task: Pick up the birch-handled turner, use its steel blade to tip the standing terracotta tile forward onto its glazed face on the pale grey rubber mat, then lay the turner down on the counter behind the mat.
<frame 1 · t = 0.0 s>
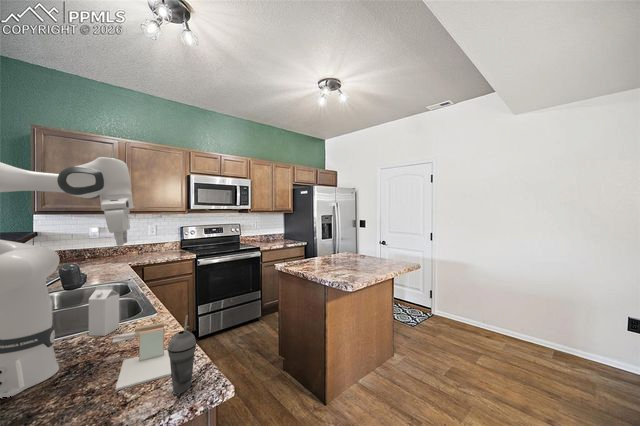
hand: (122, 244, 90), 39 cm above the counter, tool pointing down, fingers open, 8 cm apart
mat: (147, 367, 83), on the counter
tile: (151, 343, 88), point 5 cm above the counter, touching mat
turner: (150, 333, 108), on the counter
beverage cup: (182, 387, 73), on the counter
milk carton: (104, 332, 109), on the counter
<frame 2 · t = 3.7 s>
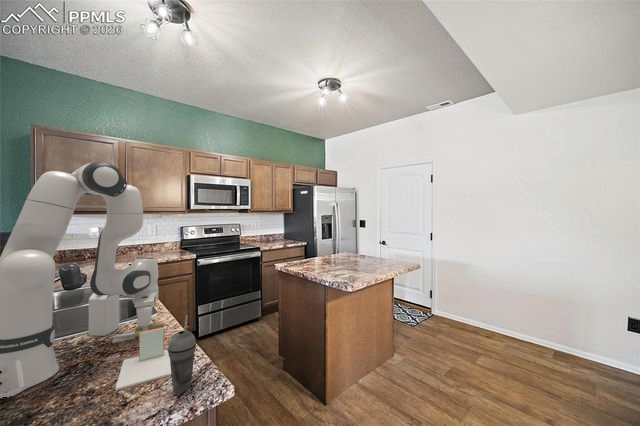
hand: (145, 329, 107), 2 cm above the counter, tool pointing down, fingers closed on turner, 2 cm apart
turner: (150, 332, 108), on the counter, touching gripper
everything else where it was.
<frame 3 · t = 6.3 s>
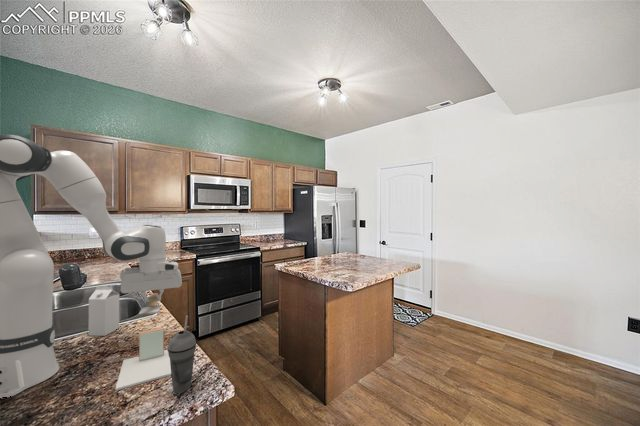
hand: (152, 301, 102), 15 cm above the counter, tool pointing down, fingers closed on turner, 2 cm apart
turner: (153, 304, 103), point 13 cm above the counter, touching gripper
everything else where it was.
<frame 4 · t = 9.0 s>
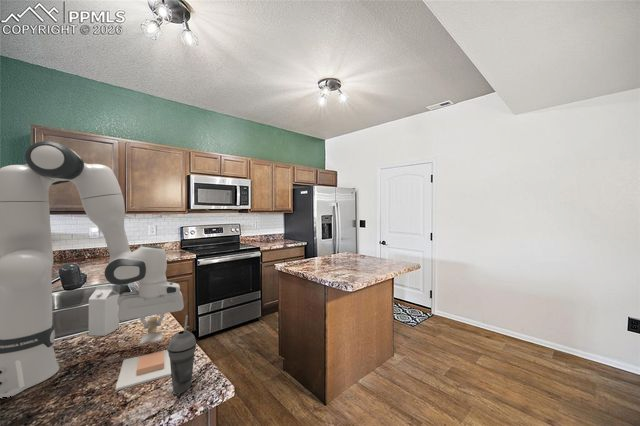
hand: (152, 326, 95), 8 cm above the counter, tool pointing down, fingers closed on turner, 2 cm apart
tile: (151, 361, 83), point 2 cm above the counter, tilted 90°, touching mat
turner: (152, 329, 97), point 6 cm above the counter, touching gripper
everything else where it was.
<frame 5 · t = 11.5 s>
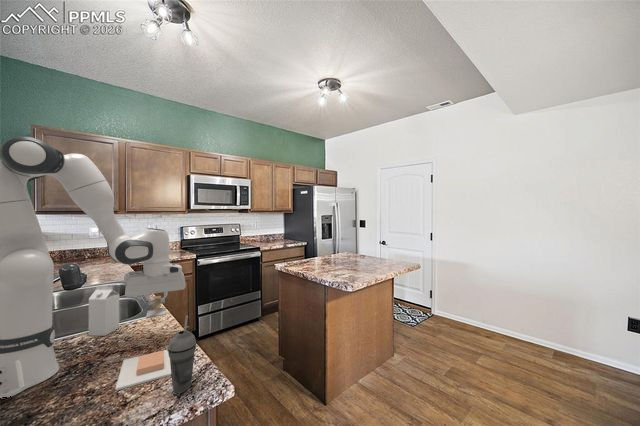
hand: (157, 304, 102), 14 cm above the counter, tool pointing down, fingers closed on turner, 2 cm apart
turner: (157, 306, 104), point 12 cm above the counter, touching gripper
everything else where it was.
when the fingers open (2 cm above the counter, at t = 13.6 s): turner stays where it is, on the counter.
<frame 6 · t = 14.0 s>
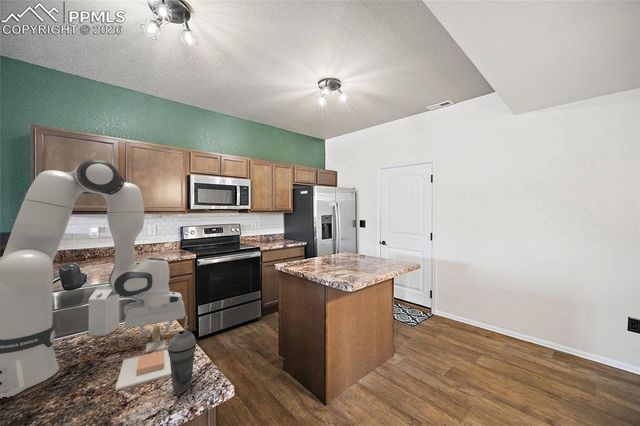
hand: (156, 333, 102), 2 cm above the counter, tool pointing down, fingers open, 6 cm apart
turner: (156, 337, 103), on the counter
everything else where it was.
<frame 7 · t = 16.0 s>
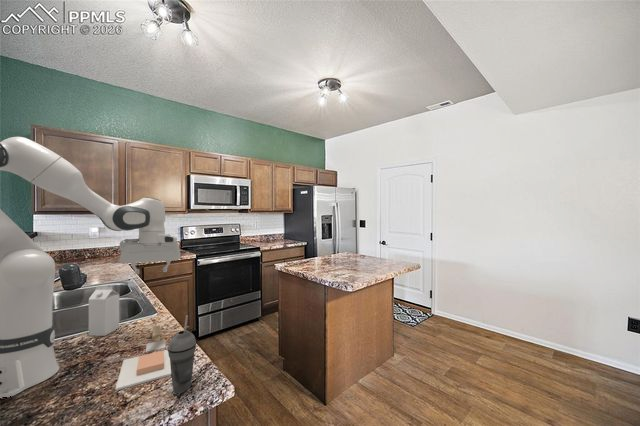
hand: (151, 272, 104), 26 cm above the counter, tool pointing down, fingers open, 8 cm apart
nothing on the counter moved.
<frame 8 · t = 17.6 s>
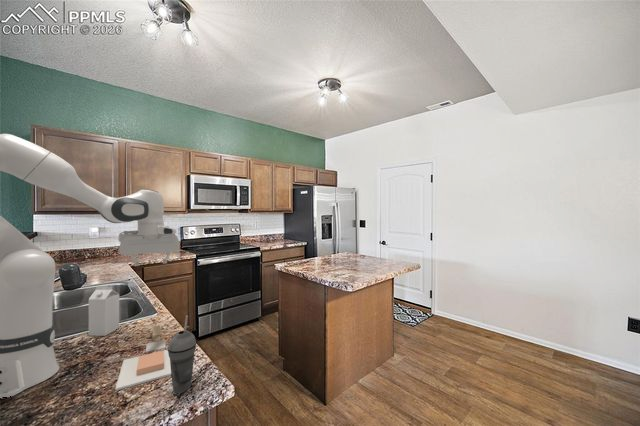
hand: (151, 264, 104), 29 cm above the counter, tool pointing down, fingers open, 8 cm apart
nothing on the counter moved.
at the end: tile 0.1 cm from the target spot, point 1.6 cm above the counter; the gripper is holding nothing; turner touching counter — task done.
